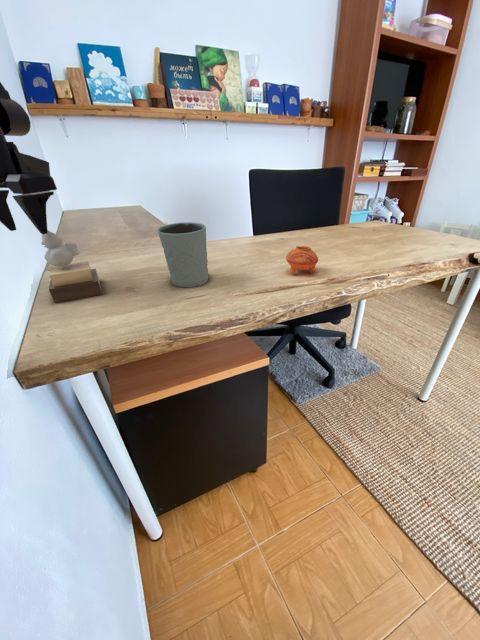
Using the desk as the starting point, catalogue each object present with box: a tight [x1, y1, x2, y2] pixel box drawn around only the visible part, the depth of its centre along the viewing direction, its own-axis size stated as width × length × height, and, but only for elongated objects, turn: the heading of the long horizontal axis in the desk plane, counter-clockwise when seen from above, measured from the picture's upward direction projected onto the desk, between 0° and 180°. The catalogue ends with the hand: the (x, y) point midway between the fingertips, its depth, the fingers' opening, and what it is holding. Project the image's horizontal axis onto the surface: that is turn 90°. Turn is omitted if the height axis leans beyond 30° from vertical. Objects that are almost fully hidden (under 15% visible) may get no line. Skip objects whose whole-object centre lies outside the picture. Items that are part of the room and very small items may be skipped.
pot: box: [285, 245, 319, 275], centre depth 72 cm, size 8×8×7 cm
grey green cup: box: [157, 221, 209, 288], centre depth 66 cm, size 10×10×12 cm
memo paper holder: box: [48, 259, 103, 304], centre depth 64 cm, size 9×9×6 cm
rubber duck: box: [40, 229, 81, 267], centre depth 60 cm, size 5×7×8 cm
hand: (28, 232), depth 58 cm, fingers open, 9 cm apart
